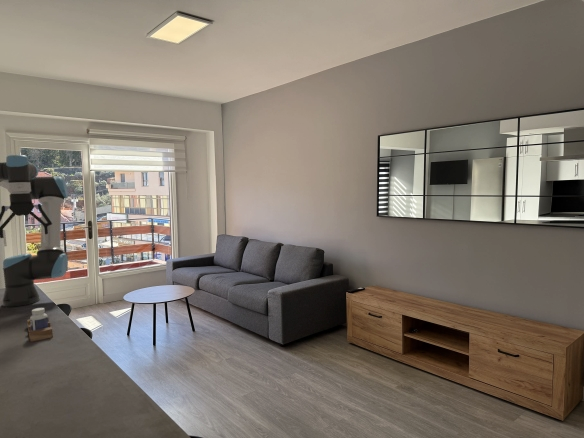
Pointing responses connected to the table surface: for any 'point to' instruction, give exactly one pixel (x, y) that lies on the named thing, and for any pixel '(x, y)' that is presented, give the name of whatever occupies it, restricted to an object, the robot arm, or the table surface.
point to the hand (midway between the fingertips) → (25, 244)
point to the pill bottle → (38, 319)
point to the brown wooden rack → (39, 332)
